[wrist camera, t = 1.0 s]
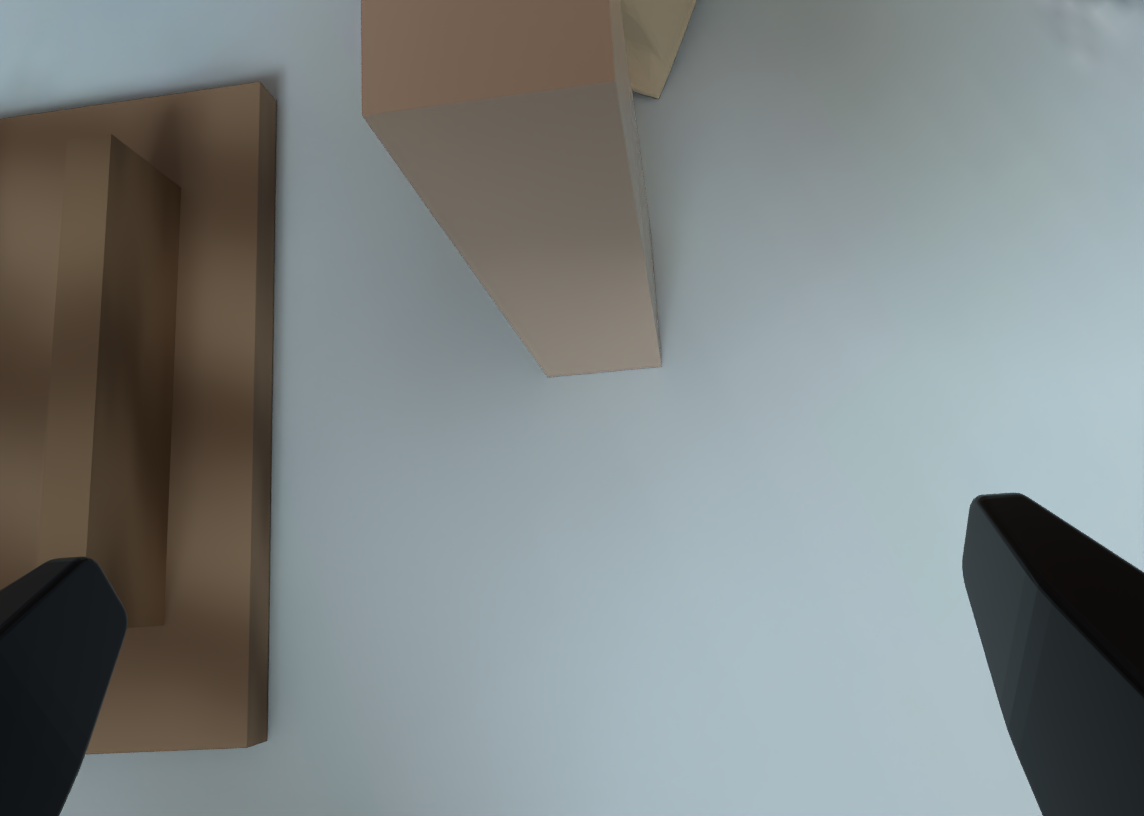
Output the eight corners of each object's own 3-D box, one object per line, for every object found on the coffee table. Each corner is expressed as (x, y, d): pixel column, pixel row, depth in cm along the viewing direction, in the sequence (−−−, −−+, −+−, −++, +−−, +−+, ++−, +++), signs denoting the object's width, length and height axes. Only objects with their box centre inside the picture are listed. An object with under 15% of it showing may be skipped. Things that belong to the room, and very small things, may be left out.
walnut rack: (266, 740, 22) (174, 773, 18) (-152, 757, 23) (-322, 791, 19) (276, 100, 26) (201, 14, 22) (-84, 151, 27) (-215, 78, 23)
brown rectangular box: (649, 223, 23) (593, -210, 11) (661, 366, 22) (615, 81, 10) (540, 235, 24) (359, -169, 11) (547, 377, 23) (362, 116, 10)
